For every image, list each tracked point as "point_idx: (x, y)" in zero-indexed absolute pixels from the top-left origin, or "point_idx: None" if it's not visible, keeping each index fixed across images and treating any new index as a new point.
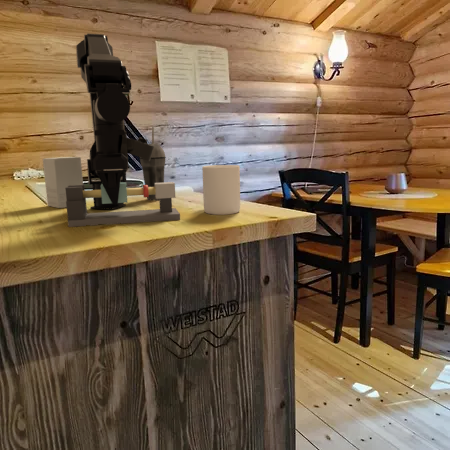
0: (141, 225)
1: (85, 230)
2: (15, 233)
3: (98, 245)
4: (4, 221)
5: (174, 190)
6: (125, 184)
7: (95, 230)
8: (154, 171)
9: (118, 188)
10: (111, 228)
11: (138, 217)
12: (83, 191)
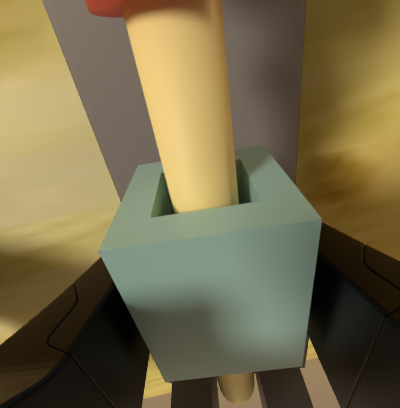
0: (380, 24)
1: (360, 234)
2: (312, 348)
3: None
4: (164, 393)
5: None
6: (320, 221)
7: (378, 207)
8: None
9: (359, 247)
10: (373, 161)
11: (299, 54)
12: (248, 378)
